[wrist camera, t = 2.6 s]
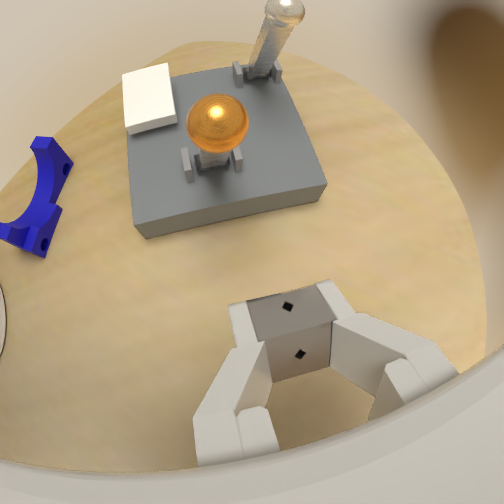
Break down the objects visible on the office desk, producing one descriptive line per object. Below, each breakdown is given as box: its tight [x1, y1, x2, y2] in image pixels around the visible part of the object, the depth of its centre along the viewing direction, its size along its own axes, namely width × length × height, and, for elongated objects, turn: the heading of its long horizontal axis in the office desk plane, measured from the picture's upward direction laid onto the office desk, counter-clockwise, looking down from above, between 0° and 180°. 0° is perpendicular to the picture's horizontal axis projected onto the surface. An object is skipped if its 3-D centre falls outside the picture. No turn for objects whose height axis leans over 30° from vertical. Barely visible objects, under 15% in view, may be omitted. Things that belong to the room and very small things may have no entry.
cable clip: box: [0, 136, 74, 258], centre depth 27 cm, size 12×4×6 cm, turn 167°
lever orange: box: [186, 93, 249, 172], centre depth 19 cm, size 3×3×15 cm
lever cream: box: [242, 0, 305, 80], centre depth 23 cm, size 3×3×15 cm
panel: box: [127, 59, 328, 239], centre depth 29 cm, size 18×18×6 cm
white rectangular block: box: [122, 63, 178, 135], centre depth 26 cm, size 5×7×2 cm
